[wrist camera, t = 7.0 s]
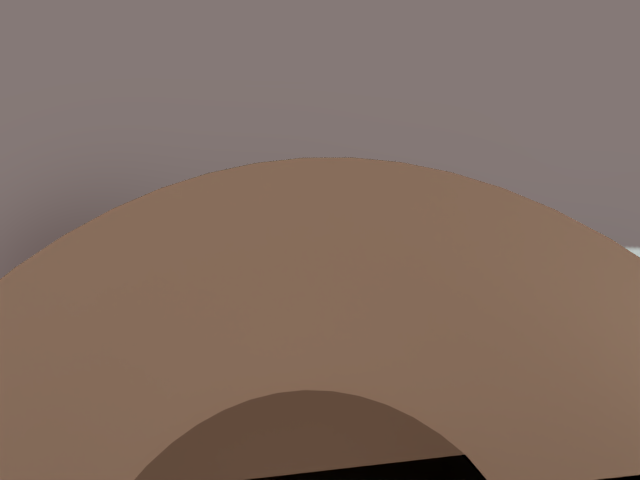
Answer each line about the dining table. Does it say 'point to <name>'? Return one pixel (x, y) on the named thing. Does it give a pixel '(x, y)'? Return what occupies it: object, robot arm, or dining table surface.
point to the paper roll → (323, 335)
